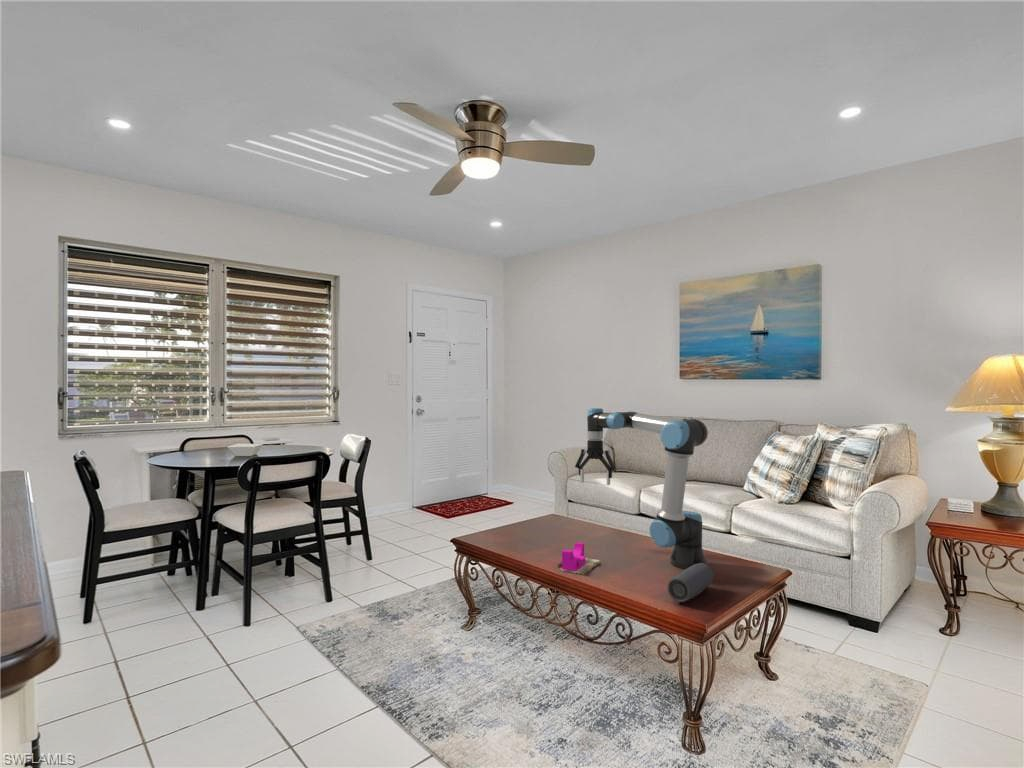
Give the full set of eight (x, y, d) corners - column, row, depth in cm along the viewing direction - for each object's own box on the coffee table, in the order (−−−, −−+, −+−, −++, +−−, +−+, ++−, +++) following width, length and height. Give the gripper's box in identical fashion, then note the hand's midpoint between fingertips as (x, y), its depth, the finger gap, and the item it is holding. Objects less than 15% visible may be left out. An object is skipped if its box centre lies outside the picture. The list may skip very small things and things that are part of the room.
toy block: (575, 571, 225) (575, 553, 225) (561, 568, 228) (561, 551, 228) (589, 561, 238) (589, 544, 238) (576, 559, 241) (576, 542, 241)
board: (600, 562, 239) (600, 557, 239) (583, 575, 224) (583, 569, 224) (575, 558, 245) (575, 552, 245) (557, 569, 230) (557, 564, 230)
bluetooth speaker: (691, 584, 214) (691, 559, 214) (714, 590, 208) (714, 564, 208) (665, 601, 197) (665, 574, 197) (690, 608, 190) (690, 580, 190)
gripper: (622, 440, 260) (622, 484, 259) (574, 438, 273) (574, 480, 272) (617, 441, 253) (617, 486, 253) (568, 439, 266) (568, 482, 266)
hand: (595, 483), depth 262 cm, fingers open, 13 cm apart
